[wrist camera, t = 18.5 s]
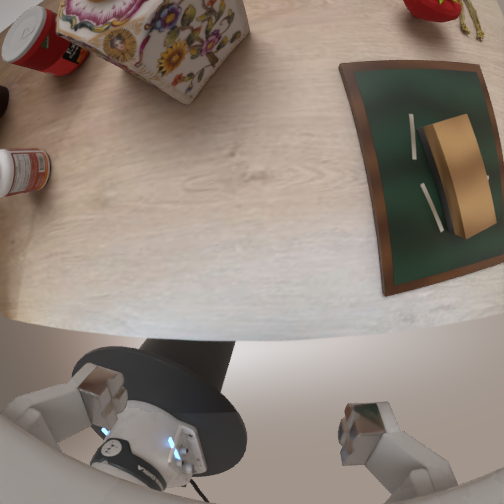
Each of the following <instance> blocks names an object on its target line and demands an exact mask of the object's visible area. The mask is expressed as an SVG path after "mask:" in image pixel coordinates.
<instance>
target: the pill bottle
mask: <svg viewBox="0 0 504 504" xmlns="http://www.w3.org/2000/svg"><path fill="white" fill-rule="evenodd" d="M49 173H50V162H49V158H48V155H47V154H46V152H45V151H43V150H42V149H37V148H32V149H0V197H5V196H10V195H16V194H21V193H27V192H33V191H38V190H40V189H41V188H43V187H44V186H45V184H46V182H47V180H48V177H49Z"/></svg>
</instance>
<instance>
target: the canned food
mask: <svg viewBox="0 0 504 504" xmlns="http://www.w3.org/2000/svg"><path fill="white" fill-rule="evenodd" d="M56 16H57V14H56V13H54V12H52V11H50V10H48V9H46V8H44V7H41V6H34V7H31V8H30V9H28V10H27V11H25V12H24V13H23V14H22V15H21V16H20V17H19V18H18V19H17V20H16V21H15V23H14V24H13V25H12V27H11V28H10V30H9V32H8V33H7V35H6V38H5V40H4V43H3V46H2V58H3V60H4V61H6V62H8V63H12V64H15V65H19V66H23V67H27V68H30V69H34V70H38V71H41V72H45V73H48V74H51V75H55V76H64V75H68V74H70V73H72V72H73V71H75V70H76V69H77V68H78V67H79V66H80V65H81V64H82V63H83V62H84V60H85V59H86V57H87V55H88V53H89V51H88V50H86V49H84V48H82V47H80V46H78V45H76V44H74V43H72V42H70V41H68V40H66V39H64V38H62V37H60V36H57V34H56Z"/></svg>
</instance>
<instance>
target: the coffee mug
mask: <svg viewBox="0 0 504 504" xmlns="http://www.w3.org/2000/svg"><path fill="white" fill-rule="evenodd" d="M8 98H9V92H8V89H7V88H6V87H3V86H1V85H0V118H1V117H2V116H3V114H4V112H5V110H6V107H7V104H8Z"/></svg>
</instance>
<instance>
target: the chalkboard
mask: <svg viewBox="0 0 504 504" xmlns="http://www.w3.org/2000/svg"><path fill="white" fill-rule="evenodd" d="M339 70H340V73H341V76H342V80H343V83H344V86H345V89H346V93H347V96H348V99H349V103H350V106H351V110H352V114H353V117H354V121H355V125H356V129H357V133H358V137H359V141H360V146H361V150H362V154H363V159H364V164H365V168H366V173H367V178H368V184H369V189H370V195H371V201H372V207H373V213H374V219H375V226H376V234H377V241H378V250H379V259H380V269H381V280H382V293H383V294H384V296H385V297H386V296H390V295H394V294H398V293H402V292H406V291H410V290H413V289H417V288H421V287H425V286H428V285H432V284H435V283H439V282H442V281H446V280H449V279H453V278H456V277H459V276H463V275H466V274H469V273H472V272H475V271H479V270H482V269H485V268H488V267H491V266H494V265H497V264H500V263H503V262H504V161H503V155H502V149H501V143H500V138H499V133H498V128H497V124H496V119H495V115H494V111H493V107H492V104H491V100H490V97H489V93H488V90H487V87H486V83H485V80H484V77H483V74H482V71H481V69H480V66H479V65H477V64H469V63H459V62H447V61H428V60H384V61H365V62H352V63H341V64H340V65H339ZM463 114H467V115H468V118H469V121H470V123H471V126H472V129H473V132H474V134H475V137H476V140H477V143H478V147H479V150H480V153H481V156H482V160H483V163H484V167H485V171H486V174H487V178H488V182H489V187H490V191H491V196H492V200H493V205H494V211H495V216H496V222H497V223H496V224H494V225H492V226H490V227H488V228H487V229H485V230H483V231H481V232H479V233H477V234H475V235H474V236H472V237H470V238H468V239H464V238H462V237H459V236H457V235H455V234H452V233H450V232H448V229H447V225H446V220H445V216H444V212H443V208H442V205H441V201H440V197H439V194H438V190H437V187H436V184H435V180H434V177H433V174H432V171H431V168H430V165H429V162H428V159H427V156H426V153H425V151H424V148H423V145H422V143H421V140H420V137H419V135H418V132H417V130H416V129H418V128H421V127H424V126H427V125H430V124H433V123H436V122H439V121H442V120H446V119H449V118H452V117H456V116H460V115H463Z"/></svg>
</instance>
